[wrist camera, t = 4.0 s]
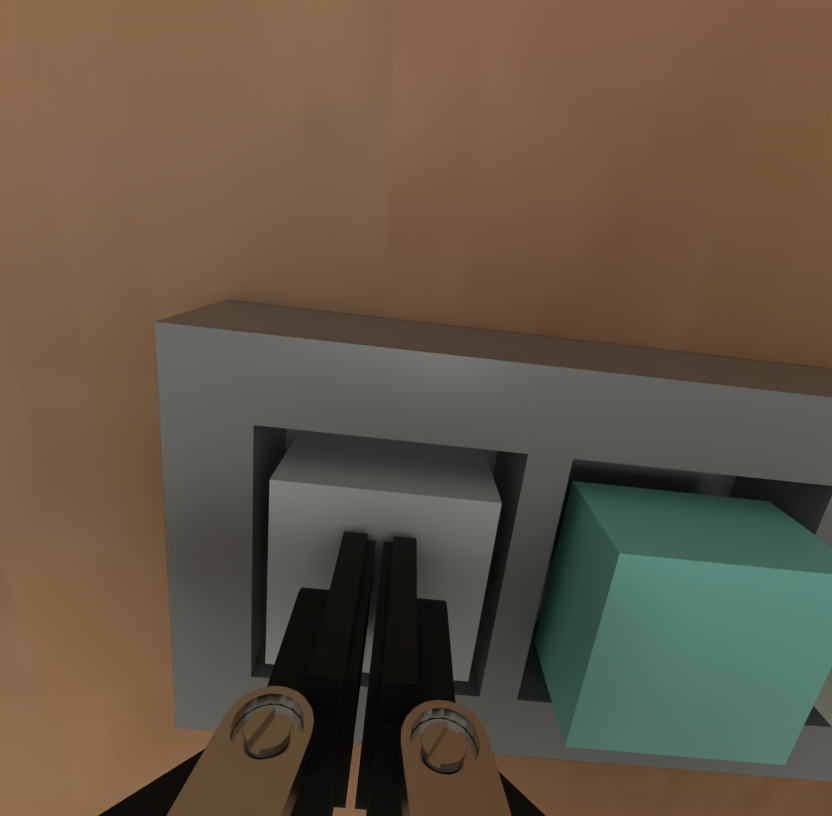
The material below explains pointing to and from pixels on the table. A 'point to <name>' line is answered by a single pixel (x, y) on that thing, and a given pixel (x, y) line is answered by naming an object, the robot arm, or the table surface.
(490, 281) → the table surface
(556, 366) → the keypad base
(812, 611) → the teal key
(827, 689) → the ivory key
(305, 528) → the slate key
